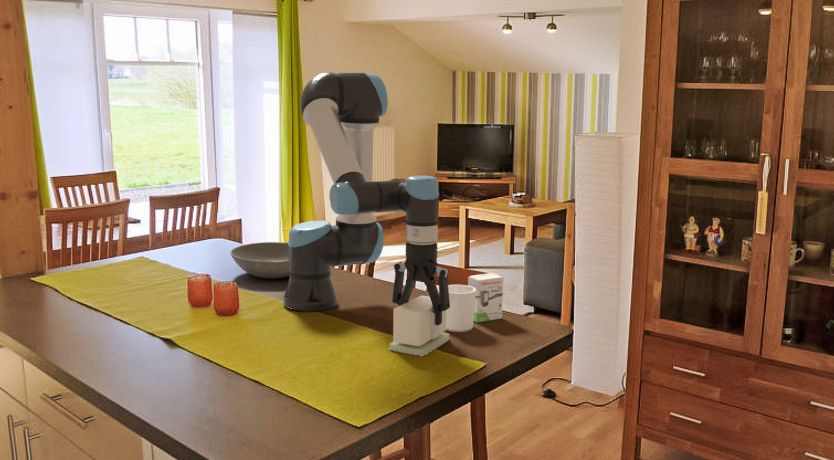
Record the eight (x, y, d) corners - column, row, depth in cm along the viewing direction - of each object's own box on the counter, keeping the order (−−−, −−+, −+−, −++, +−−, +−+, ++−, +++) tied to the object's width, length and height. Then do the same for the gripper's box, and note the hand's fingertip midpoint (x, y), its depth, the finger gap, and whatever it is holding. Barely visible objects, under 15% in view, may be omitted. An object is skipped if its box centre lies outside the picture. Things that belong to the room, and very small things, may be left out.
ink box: (476, 323, 208) (478, 280, 206) (466, 318, 213) (467, 275, 210) (502, 318, 213) (504, 276, 211) (491, 313, 217) (493, 272, 215)
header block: (389, 350, 187) (389, 323, 185) (417, 333, 199) (417, 309, 197) (423, 356, 182) (423, 329, 181) (449, 339, 195) (449, 314, 193)
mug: (478, 324, 207) (479, 286, 205) (469, 334, 199) (470, 295, 197) (438, 319, 211) (439, 282, 209) (428, 329, 202) (429, 290, 201)
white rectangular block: (419, 346, 182) (420, 313, 181) (393, 341, 186) (393, 308, 184) (445, 330, 194) (446, 299, 193) (420, 326, 198) (421, 295, 196)
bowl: (216, 283, 245) (215, 257, 243) (250, 263, 272) (249, 239, 270) (301, 288, 240) (300, 262, 239) (326, 267, 268) (326, 243, 266)
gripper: (377, 240, 187) (376, 332, 191) (453, 249, 178) (450, 346, 182) (392, 234, 194) (392, 324, 198) (466, 243, 184) (464, 337, 189)
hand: (420, 334), depth 190 cm, fingers closed on white rectangular block, 7 cm apart
